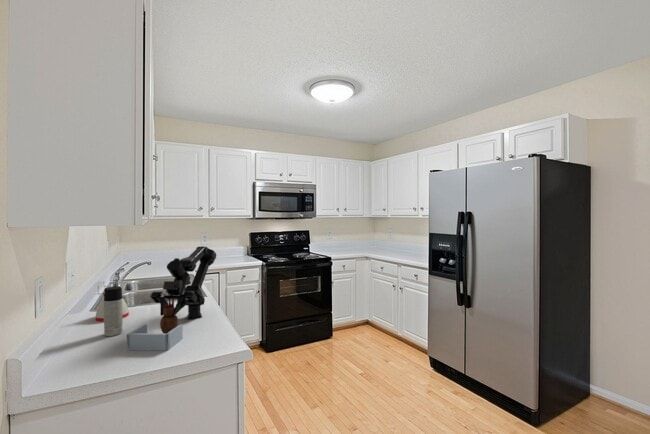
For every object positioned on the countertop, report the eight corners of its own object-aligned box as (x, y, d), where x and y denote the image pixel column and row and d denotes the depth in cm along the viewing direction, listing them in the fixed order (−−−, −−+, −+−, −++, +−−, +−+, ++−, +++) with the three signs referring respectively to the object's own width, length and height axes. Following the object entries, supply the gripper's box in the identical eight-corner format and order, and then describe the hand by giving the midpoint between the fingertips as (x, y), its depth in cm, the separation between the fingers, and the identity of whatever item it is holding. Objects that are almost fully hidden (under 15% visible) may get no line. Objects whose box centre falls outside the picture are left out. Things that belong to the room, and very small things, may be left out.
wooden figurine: (180, 330, 139) (179, 296, 139) (174, 335, 133) (173, 299, 133) (164, 330, 139) (163, 296, 139) (158, 335, 133) (157, 300, 133)
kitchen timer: (126, 319, 158) (126, 288, 158) (92, 323, 152) (92, 292, 152) (130, 311, 171) (129, 283, 170) (99, 315, 165) (98, 286, 165)
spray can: (120, 329, 143) (119, 285, 143) (124, 333, 138) (123, 287, 138) (102, 333, 138) (101, 287, 138) (106, 338, 133) (105, 290, 133)
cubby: (144, 338, 132) (144, 324, 132) (182, 338, 131) (182, 324, 131) (127, 350, 121) (126, 334, 121) (168, 350, 120) (167, 334, 120)
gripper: (152, 273, 140) (136, 305, 129) (193, 273, 139) (181, 306, 128) (162, 286, 148) (148, 318, 137) (202, 286, 147) (191, 318, 136)
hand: (167, 315), depth 135 cm, fingers closed on wooden figurine, 5 cm apart
